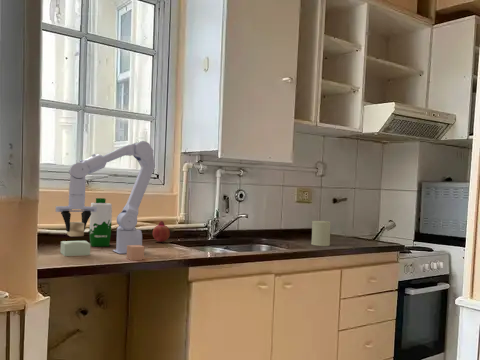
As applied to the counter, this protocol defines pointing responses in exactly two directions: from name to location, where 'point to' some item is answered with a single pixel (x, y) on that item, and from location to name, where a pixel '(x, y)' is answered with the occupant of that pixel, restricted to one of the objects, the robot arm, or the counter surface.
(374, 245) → the counter surface
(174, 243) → the counter surface
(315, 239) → the can
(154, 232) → the fruit
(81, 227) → the maple cube
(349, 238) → the counter surface
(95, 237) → the milk carton
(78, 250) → the sage block
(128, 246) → the terracotta cube
